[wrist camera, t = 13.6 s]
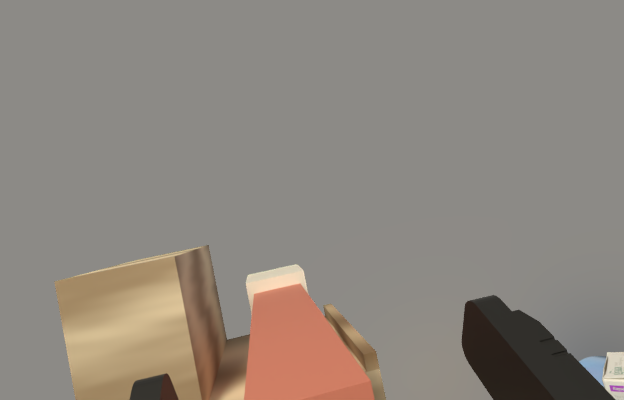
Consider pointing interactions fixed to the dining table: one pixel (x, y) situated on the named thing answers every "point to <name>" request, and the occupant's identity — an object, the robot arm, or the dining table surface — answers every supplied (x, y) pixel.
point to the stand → (166, 331)
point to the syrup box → (614, 374)
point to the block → (296, 345)
